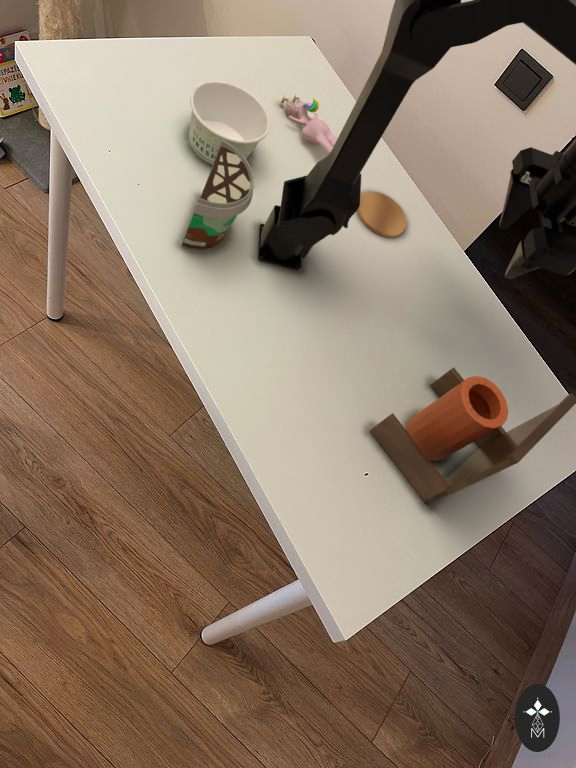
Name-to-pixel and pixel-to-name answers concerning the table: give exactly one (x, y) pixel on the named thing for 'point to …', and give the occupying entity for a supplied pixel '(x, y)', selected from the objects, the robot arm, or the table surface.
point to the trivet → (381, 214)
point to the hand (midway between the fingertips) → (505, 251)
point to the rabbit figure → (310, 122)
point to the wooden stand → (486, 461)
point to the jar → (459, 418)
